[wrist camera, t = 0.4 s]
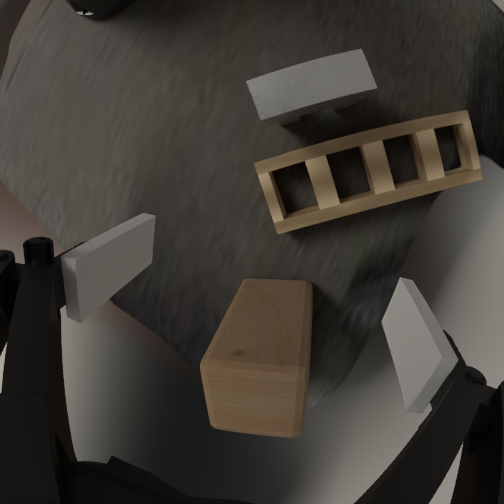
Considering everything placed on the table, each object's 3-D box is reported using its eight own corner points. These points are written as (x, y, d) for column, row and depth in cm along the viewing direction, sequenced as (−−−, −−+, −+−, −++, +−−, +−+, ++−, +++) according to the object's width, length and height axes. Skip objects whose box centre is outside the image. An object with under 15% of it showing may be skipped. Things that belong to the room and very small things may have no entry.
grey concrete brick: (265, 99, 36) (246, 81, 25) (347, 75, 33) (361, 48, 22) (275, 127, 37) (260, 120, 26) (358, 104, 34) (377, 88, 23)
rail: (258, 161, 39) (253, 163, 36) (455, 111, 31) (466, 109, 28) (280, 227, 41) (277, 234, 38) (471, 176, 34) (482, 179, 30)
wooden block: (242, 275, 45) (194, 363, 26) (313, 277, 43) (309, 374, 24) (245, 333, 48) (208, 431, 29) (309, 337, 46) (301, 441, 28)
